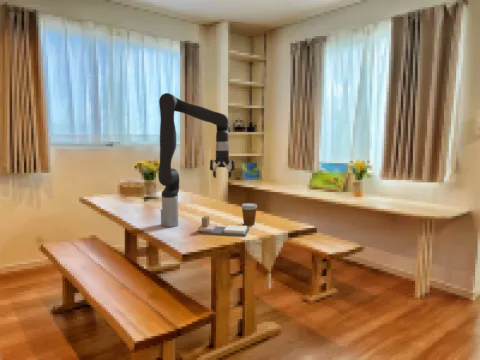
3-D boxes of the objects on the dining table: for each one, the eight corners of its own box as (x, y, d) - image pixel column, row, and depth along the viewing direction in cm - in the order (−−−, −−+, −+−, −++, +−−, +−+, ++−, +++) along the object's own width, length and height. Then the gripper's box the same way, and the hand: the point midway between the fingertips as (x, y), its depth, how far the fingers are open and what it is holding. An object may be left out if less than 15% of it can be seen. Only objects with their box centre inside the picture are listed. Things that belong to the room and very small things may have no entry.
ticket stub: (197, 230, 191) (197, 219, 190) (203, 226, 201) (202, 214, 200) (212, 231, 190) (211, 219, 189) (216, 226, 199) (216, 215, 198)
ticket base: (201, 233, 189) (201, 229, 189) (208, 227, 202) (208, 223, 202) (245, 236, 185) (245, 231, 184) (249, 229, 197) (249, 225, 197)
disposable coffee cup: (247, 227, 202) (247, 206, 201) (237, 223, 210) (238, 204, 208) (260, 224, 208) (260, 204, 206) (250, 221, 216) (250, 202, 214)
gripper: (208, 149, 199) (208, 178, 201) (233, 150, 196) (233, 179, 198) (211, 149, 206) (212, 176, 208) (235, 149, 203) (235, 177, 205)
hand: (222, 177), depth 203 cm, fingers open, 8 cm apart
